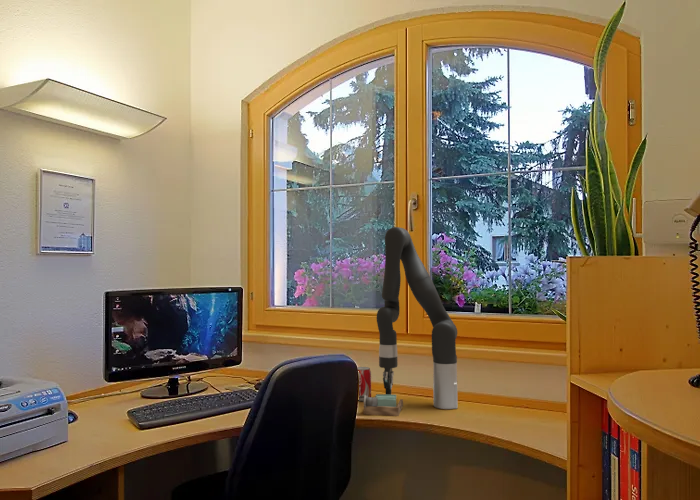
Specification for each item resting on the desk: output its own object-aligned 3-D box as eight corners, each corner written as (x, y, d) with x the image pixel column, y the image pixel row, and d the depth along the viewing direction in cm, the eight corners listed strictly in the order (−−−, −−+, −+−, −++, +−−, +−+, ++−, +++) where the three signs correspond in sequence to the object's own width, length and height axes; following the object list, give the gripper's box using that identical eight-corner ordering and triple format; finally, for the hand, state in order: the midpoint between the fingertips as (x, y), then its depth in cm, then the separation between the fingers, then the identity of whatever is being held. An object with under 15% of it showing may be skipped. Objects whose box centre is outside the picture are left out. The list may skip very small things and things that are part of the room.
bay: (402, 405, 216) (402, 388, 216) (397, 417, 200) (397, 398, 200) (366, 404, 219) (366, 386, 219) (358, 415, 203) (358, 396, 203)
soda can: (351, 401, 224) (351, 369, 224) (356, 397, 231) (356, 366, 231) (368, 402, 222) (368, 370, 222) (373, 398, 229) (372, 366, 229)
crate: (396, 404, 219) (396, 393, 219) (395, 409, 211) (395, 398, 211) (376, 404, 220) (376, 393, 220) (375, 409, 212) (375, 398, 212)
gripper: (395, 358, 216) (395, 402, 215) (399, 353, 229) (399, 394, 228) (376, 357, 217) (376, 401, 217) (381, 352, 230) (382, 394, 230)
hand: (388, 398), depth 223 cm, fingers closed
